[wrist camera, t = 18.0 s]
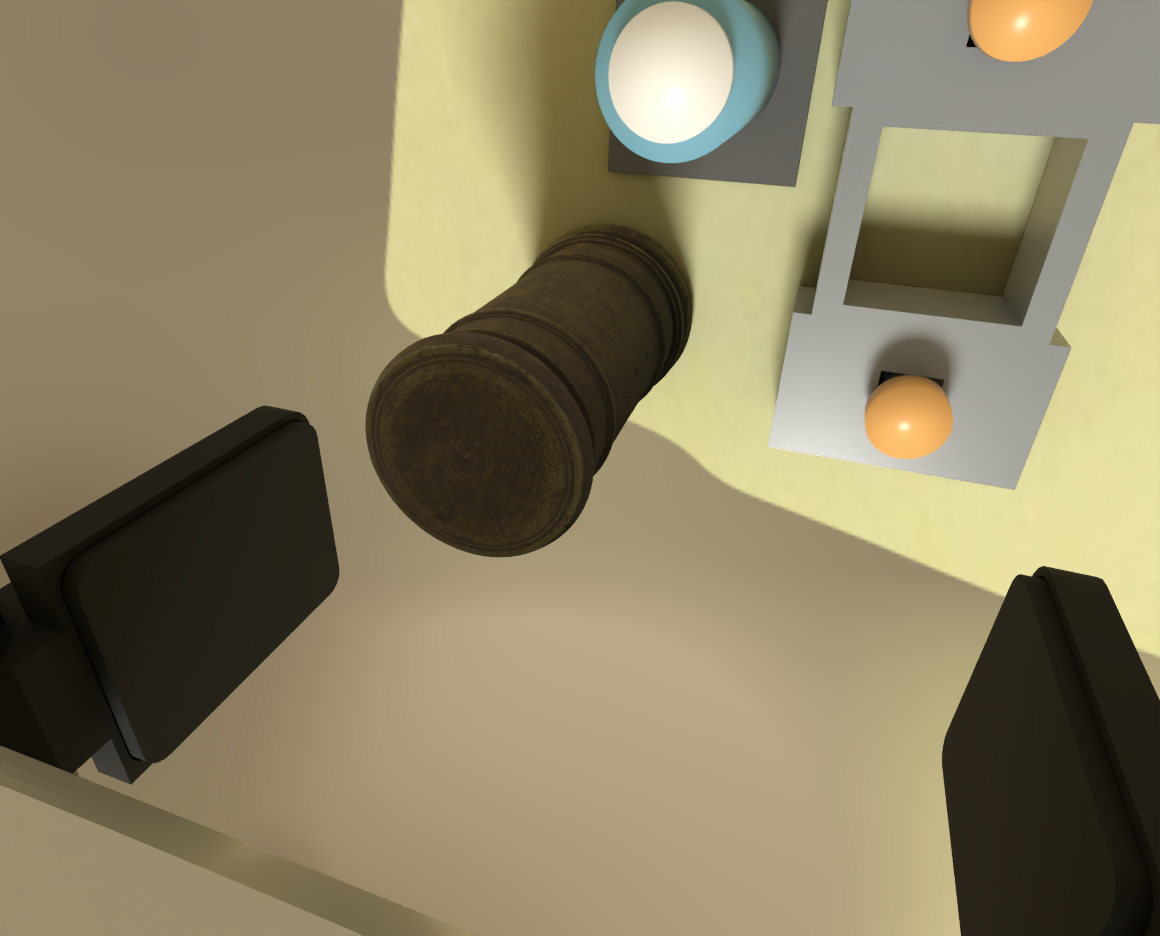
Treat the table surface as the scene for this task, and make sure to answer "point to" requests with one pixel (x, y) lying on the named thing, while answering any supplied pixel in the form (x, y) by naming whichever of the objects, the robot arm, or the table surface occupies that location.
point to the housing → (1044, 259)
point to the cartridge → (684, 74)
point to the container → (528, 393)
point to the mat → (777, 131)
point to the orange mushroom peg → (908, 416)
